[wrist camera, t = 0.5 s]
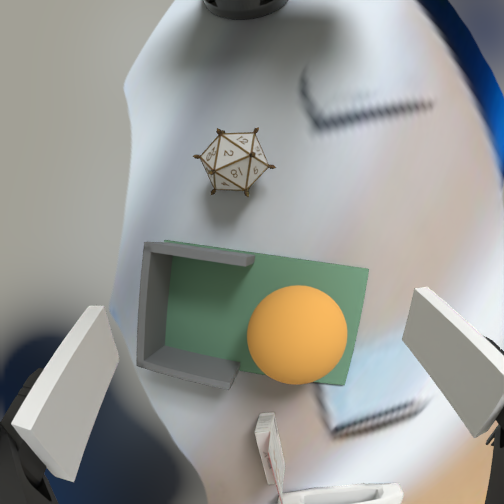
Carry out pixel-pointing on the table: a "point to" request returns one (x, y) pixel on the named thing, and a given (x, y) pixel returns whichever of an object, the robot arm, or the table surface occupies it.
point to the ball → (297, 334)
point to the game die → (234, 161)
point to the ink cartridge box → (270, 450)
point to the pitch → (226, 307)
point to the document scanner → (347, 494)
